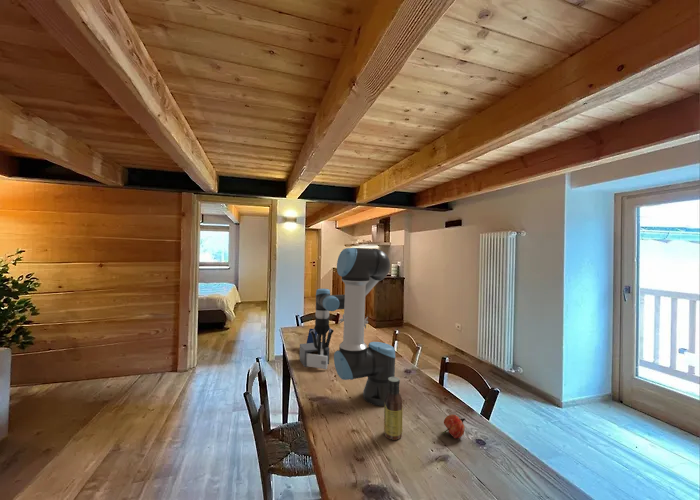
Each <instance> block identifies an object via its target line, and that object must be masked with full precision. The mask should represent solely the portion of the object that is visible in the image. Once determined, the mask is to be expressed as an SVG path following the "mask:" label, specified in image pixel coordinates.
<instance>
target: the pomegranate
mask: <svg viewBox="0 0 700 500" xmlns="http://www.w3.org/2000/svg"><path fill="white" fill-rule="evenodd" d="M466 420H467V419H466V418H465V417H464V418H460V417H459V416H457V415H456V414H448V415H446V417H445V418H444V420H443V424H444V426H445V427H446V430H445V431H442V433H443V434H444V433H445V434H446V432H449V434H450V435H451V436H452V438H453V439H460V438H462V436H463V435H464V434H465V429H466V428H465V424H464V421H466Z"/></svg>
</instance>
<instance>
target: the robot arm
mask: <svg viewBox="0 0 700 500" xmlns="http://www.w3.org/2000/svg"><path fill="white" fill-rule="evenodd" d="M336 261H337V262H336V271H337V274H338V276H340V277H341V281H342V282H343V283H344V294H331V290H330V289H328V288H318V289H316V290H315V291H316V293H315V314H314V315H315V318H314V319H315V321H314V327H313V328H312V329H313V330H311V331H310V333H311V334H312V338H313V343H314V347H315V348H316V349H318V355H325V349H326V348H328V347H329V348H330V343H331V338H332V335H333V333H334V329H333V328H331V327H330V312H336V311H339V310H344V311H343V314H344V321H343V334H342V335H343V337H342V338H343V339H342V341H341V342H340V344H339V349H338V350H336V351H334V354H333V362H334V367H335V371H336V374H337V375H338V377H339V378H340V379H341V380H344V381H347V380H348V381H349V380H357V379H361V378H366V377H367V379H366V383H365V385H364V388H363V394H362V398H363V400H364V401H365V402H367V403H369V404H370V405H373V406H378V407H379V406H380V407H384V401H385V398H386V395H387V392H388V378H389V377H396V376H395V370H396V349H395V348H394V346H392V345H390V344H388V343H385V342H381V341H371V342H368V345H367V343H365V326H364V320H365V317H366V316H365V315H366V314H365V313H366V311H365V310H366V296H367V295H368V294H369V293H370V292H371V291H372V290H373V288H374V287H375V286H376V285H377V284H378V283H379V282H380V281H383V280H384V279H385V278H386V277H387V275H388V274H389V272H390V270H391V261H390V258H389V256H388V255H387V253H386V252H384V251H383V250H381V249H379V248H368V247H367V248H365V247H345V248H344V249H342V250H341V252H340V253H339V255H338V258H337V260H336ZM315 331H316V332H317V335H318V346H317V342H316V337H315ZM321 342H322V348H321Z"/></svg>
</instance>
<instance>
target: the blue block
mask: <svg viewBox="0 0 700 500" xmlns="http://www.w3.org/2000/svg"><path fill="white" fill-rule="evenodd" d="M313 329H314V328H309V330H308V334H307V340H306V343H313V338H312V334H311V333H310V331H311V330H313ZM315 337H316V342H318V334H317V332H316V331H315Z"/></svg>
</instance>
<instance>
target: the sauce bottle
mask: <svg viewBox="0 0 700 500" xmlns="http://www.w3.org/2000/svg"><path fill="white" fill-rule="evenodd" d="M400 382H401V379H400V378H399V377H397V376H395V377H389V378H388V392H387V395H386V398H385V401H384V406H383V408H384V409H383V410H384V411H383V413H384V415H383V417H384V420H383V427H384V428H383V430H384V436H385V437H386V438H387V439H389V440H391V439H392V441H398V440H400V439H401V438H402V437H403V436H402V434H403V411H404V410H403V406H404V405H403V397H402V395H401V393H400ZM397 439H398V440H397Z"/></svg>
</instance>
